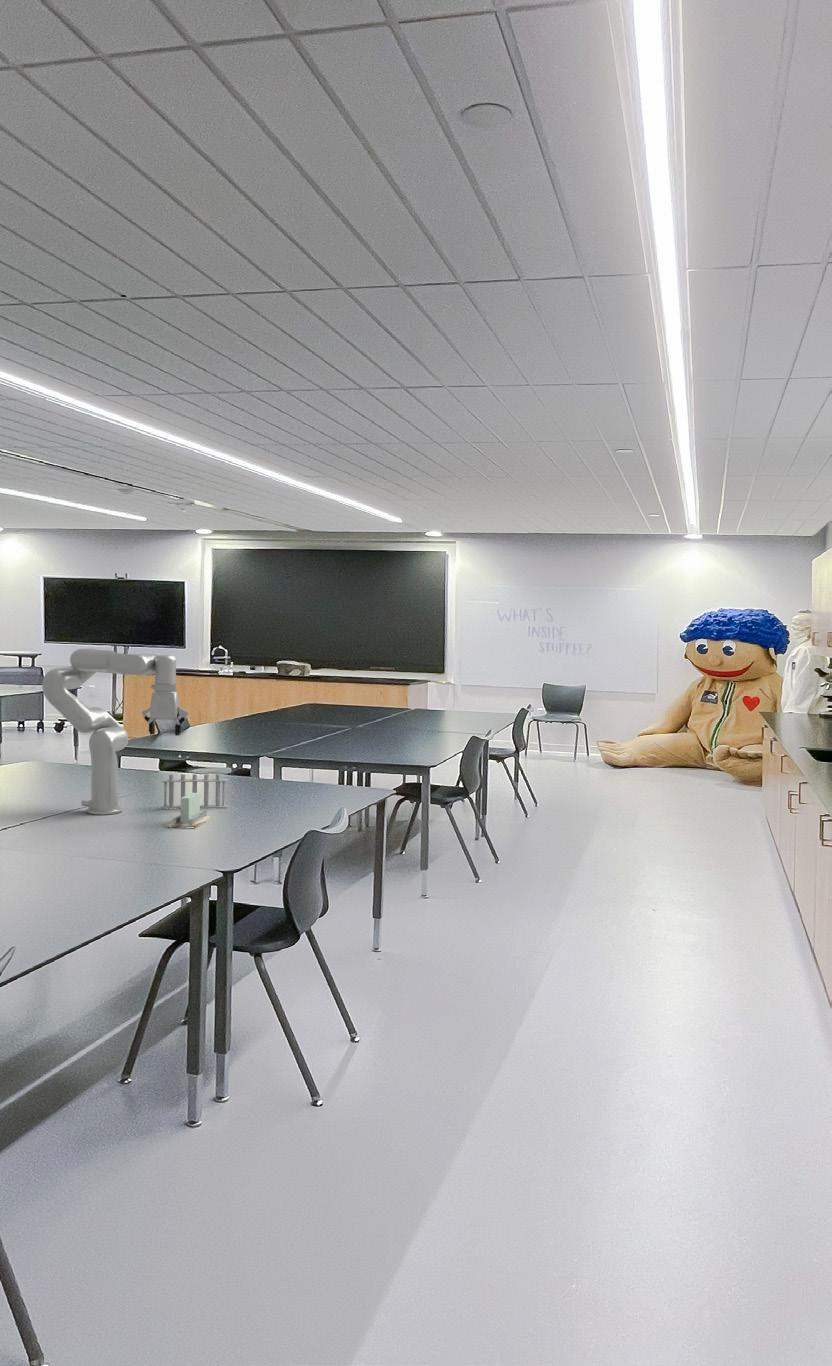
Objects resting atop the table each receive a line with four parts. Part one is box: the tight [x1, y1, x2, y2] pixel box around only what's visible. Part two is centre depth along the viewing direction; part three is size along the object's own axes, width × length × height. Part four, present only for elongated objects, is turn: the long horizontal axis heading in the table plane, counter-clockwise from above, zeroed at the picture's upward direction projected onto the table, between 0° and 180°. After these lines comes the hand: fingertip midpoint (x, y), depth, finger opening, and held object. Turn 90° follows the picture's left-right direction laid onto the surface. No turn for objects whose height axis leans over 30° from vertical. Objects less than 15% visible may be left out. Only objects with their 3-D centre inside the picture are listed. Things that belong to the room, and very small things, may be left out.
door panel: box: [179, 792, 201, 824], centre depth 355 cm, size 3×12×9 cm, turn 173°
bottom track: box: [167, 810, 212, 829], centre depth 355 cm, size 10×18×3 cm, turn 174°
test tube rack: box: [160, 773, 228, 810], centre depth 385 cm, size 25×4×13 cm, turn 101°
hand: (164, 734), depth 367 cm, fingers open, 9 cm apart
